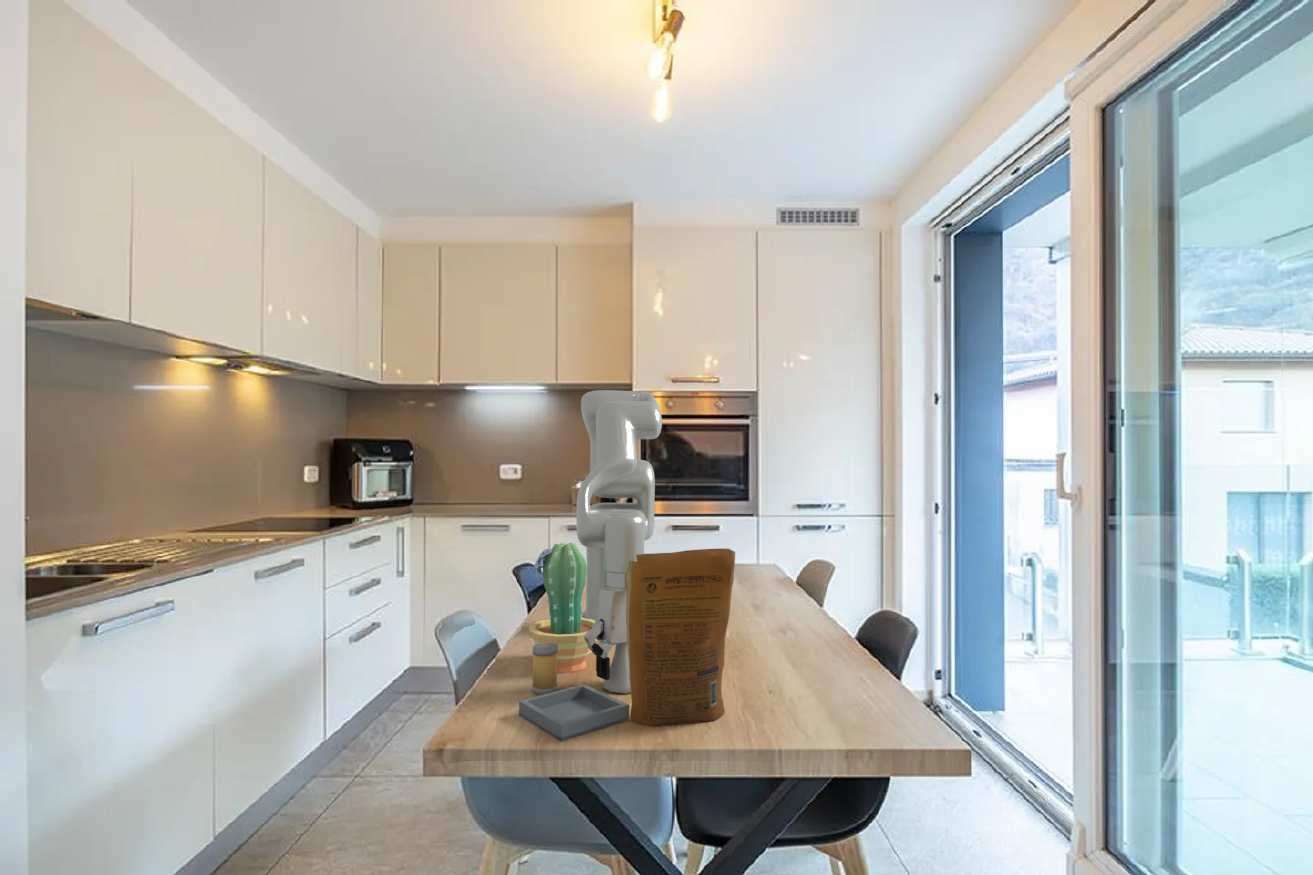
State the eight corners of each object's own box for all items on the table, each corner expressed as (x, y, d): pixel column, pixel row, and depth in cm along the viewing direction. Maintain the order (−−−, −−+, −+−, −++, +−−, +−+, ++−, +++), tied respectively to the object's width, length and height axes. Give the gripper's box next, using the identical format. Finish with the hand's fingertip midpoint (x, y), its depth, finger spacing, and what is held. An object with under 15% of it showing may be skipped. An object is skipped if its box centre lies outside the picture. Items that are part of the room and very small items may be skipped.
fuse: (527, 689, 121) (528, 646, 121) (548, 684, 124) (549, 641, 124) (540, 696, 117) (540, 651, 118) (562, 691, 120) (562, 647, 121)
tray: (518, 715, 109) (519, 700, 109) (583, 697, 117) (583, 683, 117) (561, 741, 99) (561, 725, 99) (629, 719, 107) (629, 704, 107)
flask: (619, 678, 127) (620, 626, 128) (650, 686, 123) (650, 632, 124) (595, 689, 122) (596, 634, 122) (626, 697, 117) (626, 641, 118)
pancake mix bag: (742, 723, 106) (742, 550, 107) (626, 733, 102) (628, 553, 103) (728, 707, 113) (728, 544, 114) (618, 717, 108) (620, 547, 109)
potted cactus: (563, 649, 146) (565, 537, 147) (618, 662, 137) (619, 542, 138) (511, 667, 133) (513, 544, 134) (567, 683, 125) (568, 551, 125)
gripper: (646, 572, 131) (645, 659, 131) (574, 582, 120) (572, 677, 120) (671, 577, 126) (671, 668, 125) (598, 588, 114) (597, 688, 114)
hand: (623, 672), depth 122 cm, fingers open, 8 cm apart
